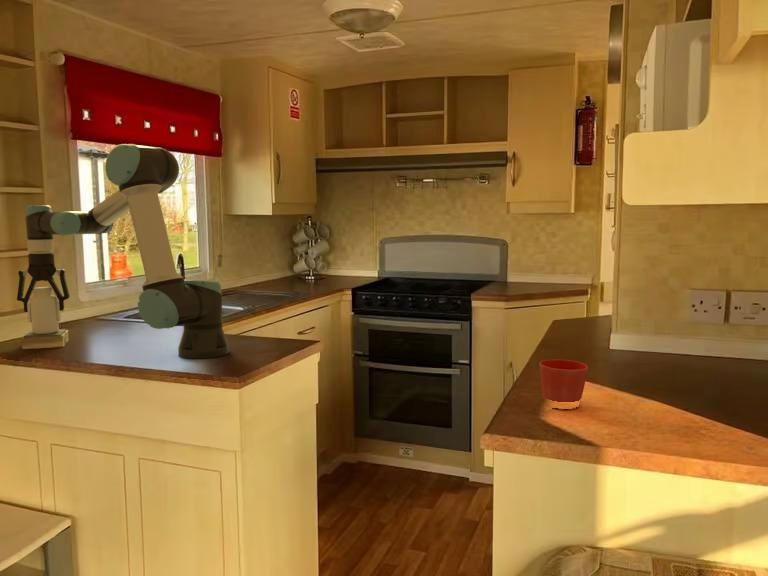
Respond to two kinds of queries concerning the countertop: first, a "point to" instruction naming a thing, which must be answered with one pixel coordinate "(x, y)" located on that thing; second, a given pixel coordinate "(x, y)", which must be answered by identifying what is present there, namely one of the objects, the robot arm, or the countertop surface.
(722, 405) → the countertop surface
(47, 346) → the stand
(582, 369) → the flower pot
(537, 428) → the countertop surface
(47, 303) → the pill bottle
